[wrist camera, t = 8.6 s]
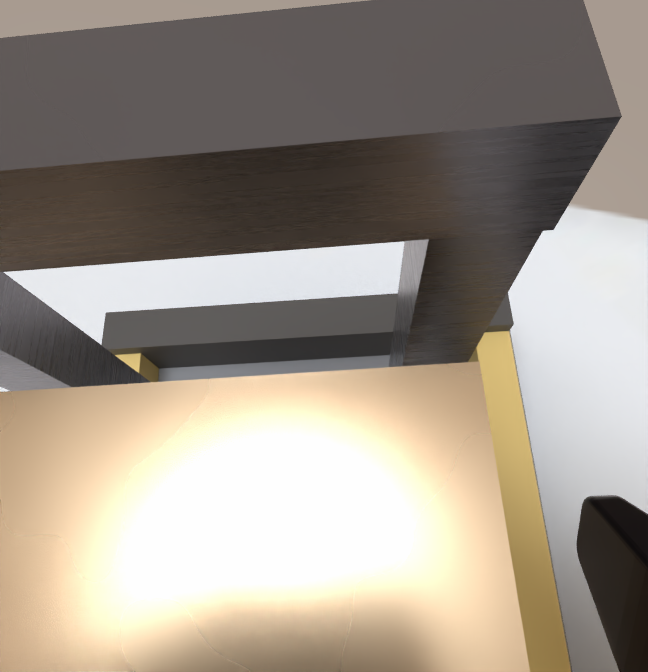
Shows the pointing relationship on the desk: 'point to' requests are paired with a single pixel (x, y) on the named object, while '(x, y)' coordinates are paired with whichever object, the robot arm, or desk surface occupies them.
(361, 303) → the dock
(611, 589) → the robot arm
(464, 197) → the trolley
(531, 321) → the desk surface
